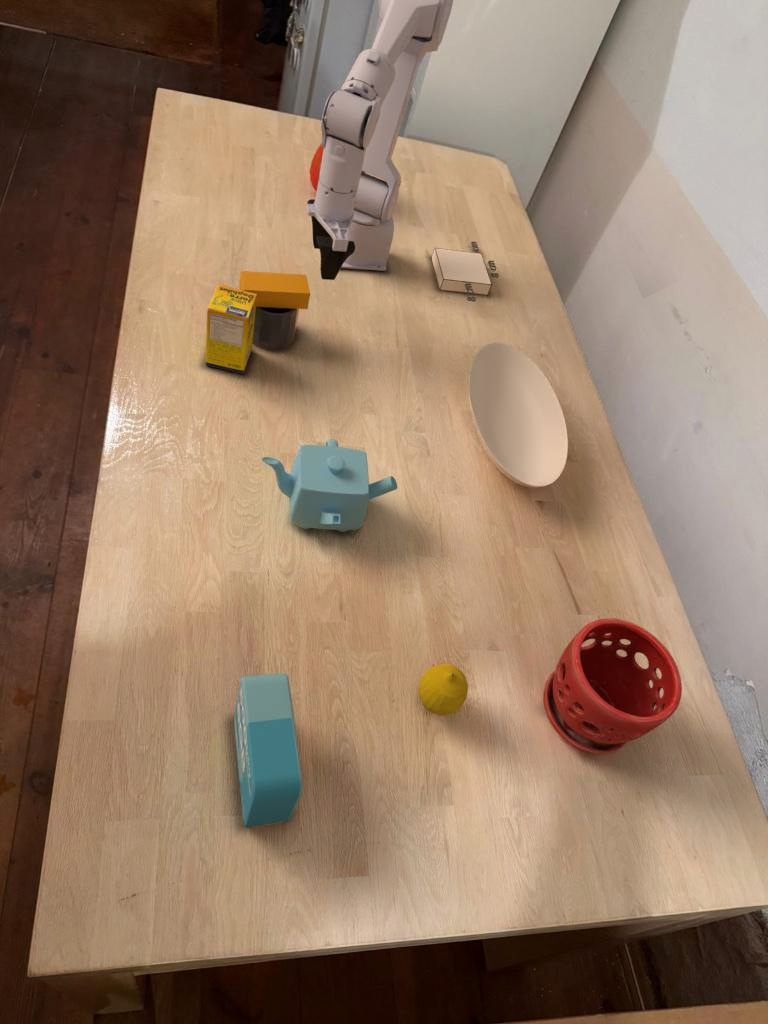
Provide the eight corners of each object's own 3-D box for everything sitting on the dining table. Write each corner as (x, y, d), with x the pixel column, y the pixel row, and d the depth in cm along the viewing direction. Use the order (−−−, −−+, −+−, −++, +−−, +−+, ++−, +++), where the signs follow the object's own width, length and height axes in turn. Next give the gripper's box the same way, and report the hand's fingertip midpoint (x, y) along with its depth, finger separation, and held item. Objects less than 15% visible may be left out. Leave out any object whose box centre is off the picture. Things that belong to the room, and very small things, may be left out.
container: (426, 241, 145) (430, 229, 143) (481, 248, 148) (485, 236, 146) (444, 309, 134) (448, 297, 132) (503, 315, 137) (508, 303, 135)
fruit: (453, 730, 86) (475, 704, 80) (407, 718, 86) (426, 691, 80) (458, 687, 90) (480, 658, 83) (414, 675, 89) (432, 645, 83)
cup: (290, 318, 123) (296, 283, 117) (297, 350, 119) (302, 315, 113) (242, 316, 121) (246, 280, 115) (247, 349, 116) (251, 313, 111)
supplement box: (251, 349, 116) (258, 292, 108) (243, 375, 113) (249, 318, 104) (214, 340, 116) (217, 282, 107) (204, 366, 112) (207, 308, 103)
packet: (303, 290, 117) (306, 274, 114) (307, 309, 114) (310, 293, 112) (239, 287, 114) (240, 270, 112) (241, 306, 111) (243, 289, 109)
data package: (233, 717, 81) (241, 671, 72) (274, 712, 83) (287, 666, 73) (243, 831, 75) (254, 797, 65) (288, 824, 76) (304, 790, 67)
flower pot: (651, 749, 90) (706, 711, 81) (558, 772, 86) (605, 736, 77) (604, 652, 97) (650, 607, 88) (517, 669, 93) (555, 624, 84)
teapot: (384, 479, 107) (400, 432, 99) (390, 561, 98) (409, 517, 90) (257, 467, 103) (264, 417, 95) (253, 552, 94) (260, 505, 87)
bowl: (447, 364, 125) (458, 336, 120) (530, 375, 128) (544, 348, 123) (472, 507, 107) (486, 481, 102) (567, 515, 110) (585, 490, 106)
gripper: (303, 151, 109) (292, 232, 120) (319, 209, 101) (305, 291, 112) (350, 156, 111) (335, 236, 122) (369, 213, 103) (350, 293, 114)
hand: (323, 262), depth 117 cm, fingers open, 7 cm apart
